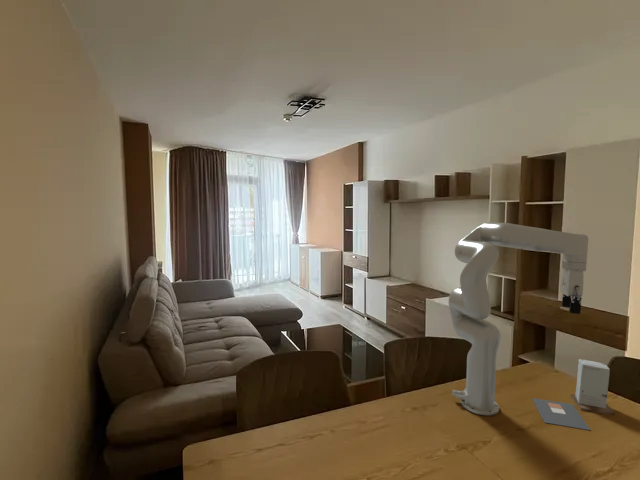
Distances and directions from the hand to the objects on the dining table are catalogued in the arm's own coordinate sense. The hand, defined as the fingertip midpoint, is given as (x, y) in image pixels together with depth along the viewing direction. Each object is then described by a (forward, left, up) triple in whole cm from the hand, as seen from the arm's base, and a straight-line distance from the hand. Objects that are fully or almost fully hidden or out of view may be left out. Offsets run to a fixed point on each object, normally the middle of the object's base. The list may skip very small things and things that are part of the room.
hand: (570, 309), depth 135 cm
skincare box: (+5, -8, -32) cm, 34 cm away
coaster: (+6, -8, -33) cm, 34 cm away
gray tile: (-7, -18, -33) cm, 38 cm away
